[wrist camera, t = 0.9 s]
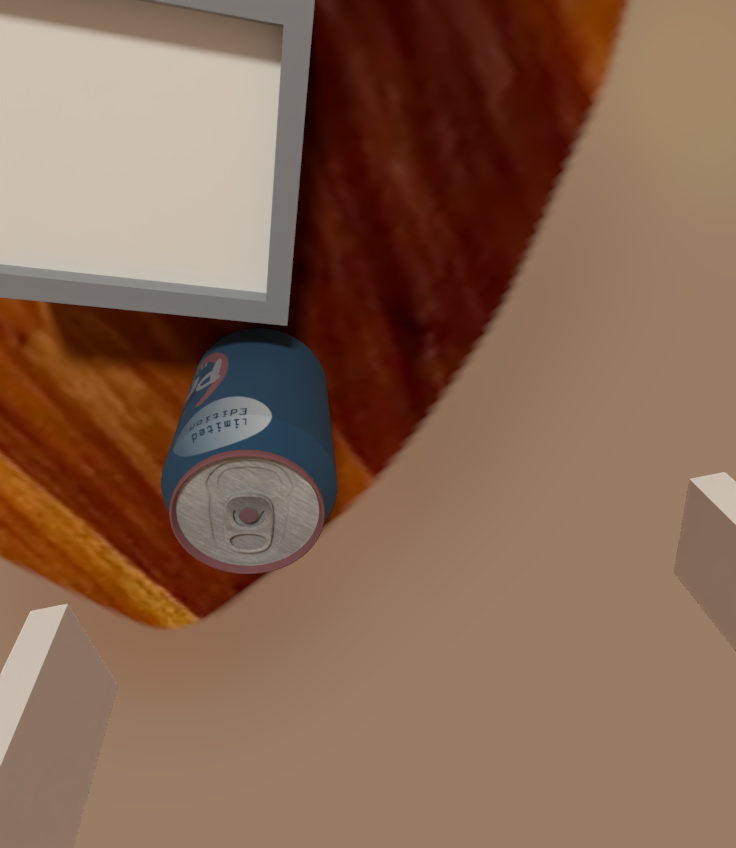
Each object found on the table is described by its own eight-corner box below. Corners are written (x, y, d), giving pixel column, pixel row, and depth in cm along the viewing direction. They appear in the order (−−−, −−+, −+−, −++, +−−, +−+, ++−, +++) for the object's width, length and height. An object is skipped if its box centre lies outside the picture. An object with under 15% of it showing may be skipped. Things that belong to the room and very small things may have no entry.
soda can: (195, 314, 30) (144, 435, 20) (330, 324, 31) (349, 443, 21) (199, 430, 33) (156, 586, 23) (320, 435, 34) (332, 586, 24)
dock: (-35, 258, 27) (-91, 288, 23) (-96, -68, 21) (-186, -104, 17) (288, 293, 30) (287, 325, 26) (311, 10, 24) (315, -5, 20)
